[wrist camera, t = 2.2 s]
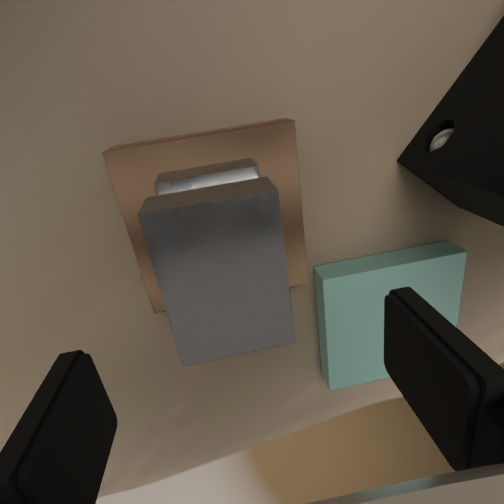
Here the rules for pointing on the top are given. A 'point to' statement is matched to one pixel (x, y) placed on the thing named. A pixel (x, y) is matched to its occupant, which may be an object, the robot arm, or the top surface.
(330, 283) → the stand
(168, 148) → the stand
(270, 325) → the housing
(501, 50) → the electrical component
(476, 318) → the top surface
